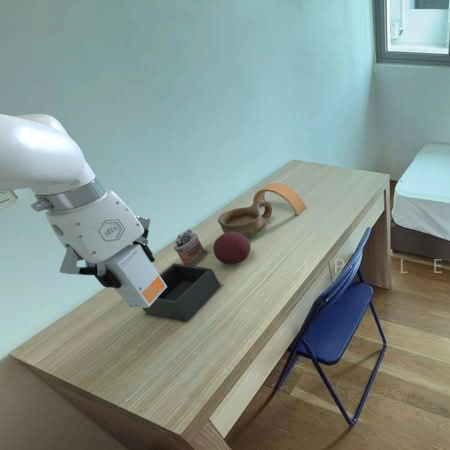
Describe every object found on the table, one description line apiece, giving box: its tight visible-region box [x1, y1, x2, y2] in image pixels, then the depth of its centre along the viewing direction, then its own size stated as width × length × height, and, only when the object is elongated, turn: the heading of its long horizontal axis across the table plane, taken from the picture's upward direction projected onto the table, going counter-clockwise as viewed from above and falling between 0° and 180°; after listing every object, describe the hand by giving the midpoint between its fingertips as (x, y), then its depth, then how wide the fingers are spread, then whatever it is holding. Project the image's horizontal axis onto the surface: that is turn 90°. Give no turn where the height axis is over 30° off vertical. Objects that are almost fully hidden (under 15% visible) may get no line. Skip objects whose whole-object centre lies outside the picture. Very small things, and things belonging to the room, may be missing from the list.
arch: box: [252, 182, 306, 216], centre depth 119 cm, size 6×20×10 cm, turn 71°
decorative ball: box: [212, 232, 251, 266], centre depth 94 cm, size 10×10×10 cm
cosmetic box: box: [105, 243, 167, 309], centre depth 61 cm, size 6×4×12 cm
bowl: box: [217, 200, 273, 239], centre depth 108 cm, size 18×14×10 cm
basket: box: [142, 262, 222, 323], centre depth 82 cm, size 13×13×7 cm
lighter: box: [173, 228, 207, 266], centre depth 95 cm, size 8×3×10 cm, turn 171°
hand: (131, 272), depth 61 cm, fingers closed on cosmetic box, 6 cm apart
